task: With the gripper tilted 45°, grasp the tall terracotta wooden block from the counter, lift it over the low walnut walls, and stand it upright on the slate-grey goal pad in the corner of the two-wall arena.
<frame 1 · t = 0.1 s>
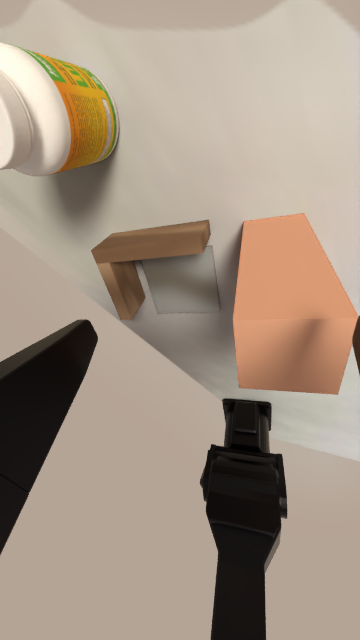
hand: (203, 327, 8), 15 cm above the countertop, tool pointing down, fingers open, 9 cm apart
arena: (181, 282, 25), on the countertop
supplement bottle: (87, 118, 18), on the countertop
terracotta block: (272, 244, 20), on the countertop
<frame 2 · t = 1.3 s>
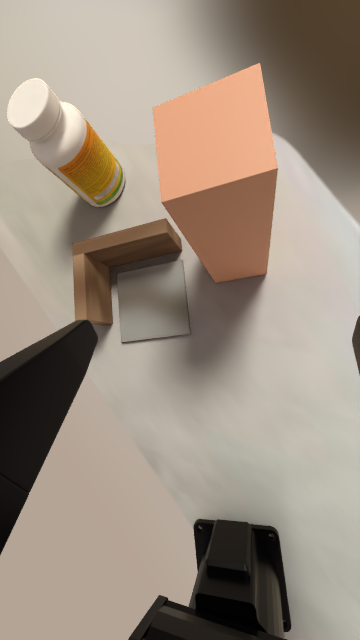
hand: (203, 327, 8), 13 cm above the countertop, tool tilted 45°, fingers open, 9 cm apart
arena: (152, 302, 24), on the countertop
supplement bottle: (106, 186, 27), on the countertop
terracotta block: (237, 254, 22), on the countertop
when the fingers open (8 cm above the countertop, at t = 8.7 s): terracotta block drops 1 cm, resting on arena.
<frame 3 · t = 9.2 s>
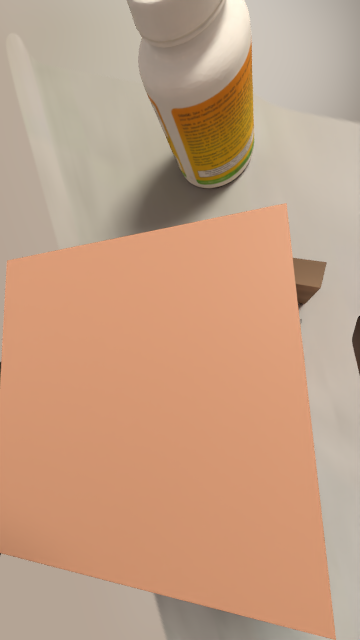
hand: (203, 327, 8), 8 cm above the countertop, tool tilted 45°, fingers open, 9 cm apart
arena: (230, 360, 16), on the countertop
supplement bottle: (216, 157, 18), on the countertop
terracotta block: (229, 360, 16), resting on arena
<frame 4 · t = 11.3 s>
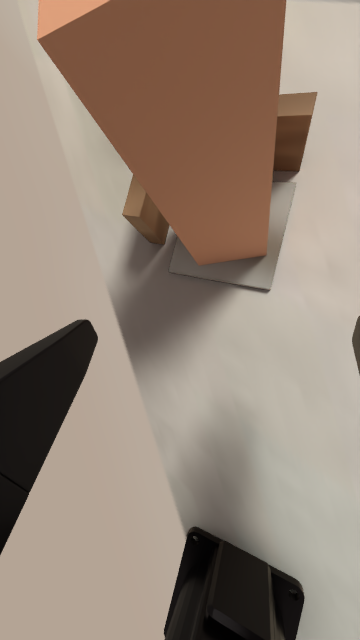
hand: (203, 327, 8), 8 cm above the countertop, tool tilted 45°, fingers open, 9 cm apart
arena: (229, 231, 17), on the countertop
terracotta block: (228, 229, 17), resting on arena
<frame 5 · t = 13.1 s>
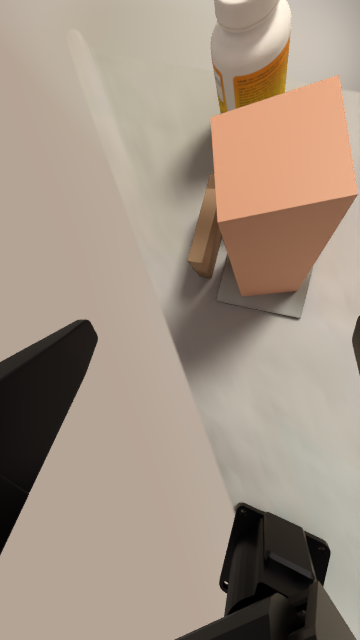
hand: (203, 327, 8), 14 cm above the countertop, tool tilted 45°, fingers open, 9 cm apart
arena: (265, 270, 21), on the countertop
supplement bottle: (252, 123, 24), on the countertop
terracotta block: (266, 268, 21), resting on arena
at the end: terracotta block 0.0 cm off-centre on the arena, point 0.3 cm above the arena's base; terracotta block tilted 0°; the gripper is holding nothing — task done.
